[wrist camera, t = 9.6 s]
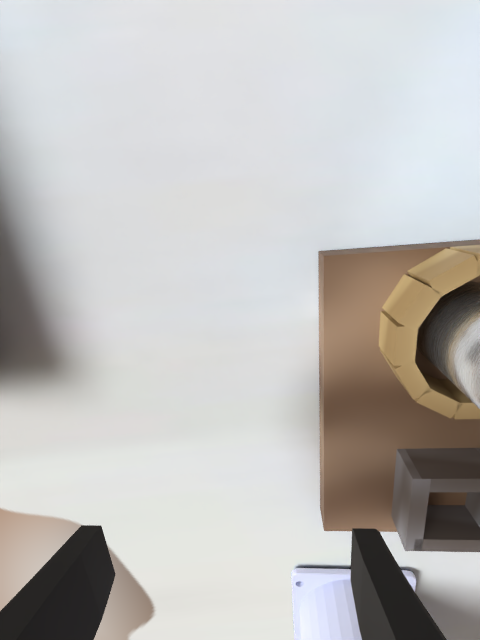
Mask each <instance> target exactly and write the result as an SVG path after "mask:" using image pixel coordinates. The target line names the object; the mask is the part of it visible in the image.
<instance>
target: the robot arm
mask: <svg viewBox="0 0 480 640" xmlns="http://www.w3.org/2000/svg"><path fill="white" fill-rule="evenodd" d="M291 575H292V596H293V617H294V638H295V640H446V638H445V637H444V635H443V634H442V632H441V631H440V629H439V628H438V626H437V625H436V623H435V622H434V620H433V619H432V617H431V616H430V614H429V613H428V611H427V610H426V608H425V607H424V605H423V604H422V602H421V601H420V599H419V598H418V596H417V595H416V593H415V589H416V577H415V575H414V573H413V572H411V571H407V570H401V569H400V567H399V566H398V564H397V562H396V561H395V559H394V557H393V556H392V554H391V552H390V550H389V549H388V547H387V545H386V543H385V541H384V540H383V538H382V536H381V534H380V532H379V531H378V530H377V529H363V528H352V552H351V569H322V568H296V569H294V570H293V571H292V573H291ZM114 577H115V572H114V568H113V565H112V561H111V558H110V554H109V551H108V547H107V544H106V541H105V537H104V534H103V530H102V527H101V526H81V527H80V528H79V529H78V530H77V531H76V532H75V533H74V534H73V535H72V536H71V537H70V538H69V539H68V540H67V542H66V543H65V544H64V545H63V546H62V547H61V548H60V549H59V550H58V551H57V552H56V553H55V554H54V555H53V556H52V558H51V559H50V560H49V561H48V562H47V563H46V564H45V565H44V566H43V567H42V568H41V569H40V570H39V571H38V573H37V574H36V575H35V576H34V577H33V578H32V579H31V580H30V581H29V582H28V583H27V584H26V585H25V586H24V587H23V588H22V589H21V590H20V591H19V592H18V594H17V595H16V596H15V597H14V598H13V599H12V600H11V601H10V602H9V603H8V604H7V605H6V606H5V607H4V608H3V609H2V610H1V611H0V640H93V639H94V637H95V635H96V632H97V630H98V627H99V625H100V622H101V620H102V616H103V614H104V610H105V607H106V604H107V601H108V598H109V594H110V591H111V587H112V584H113V581H114Z"/></svg>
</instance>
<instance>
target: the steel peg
mask: <svg viewBox="0 0 480 640" xmlns="http://www.w3.org/2000/svg"><path fill="white" fill-rule="evenodd" d="M417 347H418V349H419V350H420V352H421V353H422V354H423V355H424V356H425V357H426V358H427V359H428V360H429V361H430V362H431V363H432V364H433V365H434V366H435V367H436V368H438V369H439V370H440V371H441V372H442V373H443V374H444V375H445V376H446V377H447V378H448V379H449V380H450V381H451V382H452V383H453V384H454V385H455V386H456V387H457V388H458V389H459V390H460V391H461V392H462V393H463V394H464V395H466V396H467V397H468V398H469V399H470V400H471V401H472V402H473V403H474V404H475V405H476V406H477V407H478V408H479V409H480V282H474V281H469V282H467V283H465V284H463V285H461V286H460V287H458V288H456V289H454V290H452V291H451V292H449V293H447V294H445V295H443V296H441V298H440V299H439V300H438V302H437V303H436V305H435V306H434V307H433V309H432V310H431V311H430V313H429V314H428V316H427V317H426V318H425V320H424V321H423V323H422V324H421V325H420V327H419V328H418V334H417Z"/></svg>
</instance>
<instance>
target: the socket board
mask: <svg viewBox="0 0 480 640" xmlns="http://www.w3.org/2000/svg"><path fill="white" fill-rule="evenodd" d="M469 281H474V282H480V240H467V241H453V242H440V243H426V244H412V245H398V246H385V247H371V248H357V249H343V250H330V251H319V385H320V509H321V515H322V521H323V527H324V531H352V528H363V529H377V530H378V531H385V532H398V534H399V537H400V539H401V542H402V544H403V547H404V549H405V551H448V552H480V409H479V408H478V407H477V406H476V405H475V404H474V403H473V402H472V401H471V400H470V399H469V398H468V397H467V396H466V395H464V394H463V393H462V392H461V391H460V390H459V389H458V388H457V387H456V386H455V385H454V384H453V383H452V382H451V381H450V380H449V379H448V378H447V377H446V376H445V375H444V374H443V373H442V372H441V371H440V370H439V369H438V368H436V367H435V366H434V365H433V364H432V363H431V362H430V361H429V360H428V359H427V358H426V357H425V356H424V355H423V354H422V353H421V352H420V350H419V349H418V347H417V334H418V328H419V327H420V325H421V324H422V323H423V321H424V320H425V318H426V317H427V316H428V314H429V313H430V311H431V310H432V309H433V307H434V306H435V305H436V303H437V302H438V300H439V299H440V298H441V296H443V295H445V294H447V293H449V292H451V291H452V290H454V289H456V288H458V287H460V286H461V285H463V284H465V283H467V282H469Z"/></svg>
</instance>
